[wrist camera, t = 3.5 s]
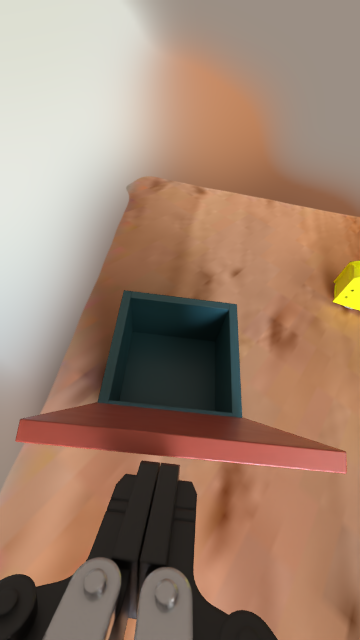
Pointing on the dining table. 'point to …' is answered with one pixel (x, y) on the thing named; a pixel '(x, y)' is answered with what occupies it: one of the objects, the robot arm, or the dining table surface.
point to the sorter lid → (179, 436)
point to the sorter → (174, 356)
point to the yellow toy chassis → (348, 286)
